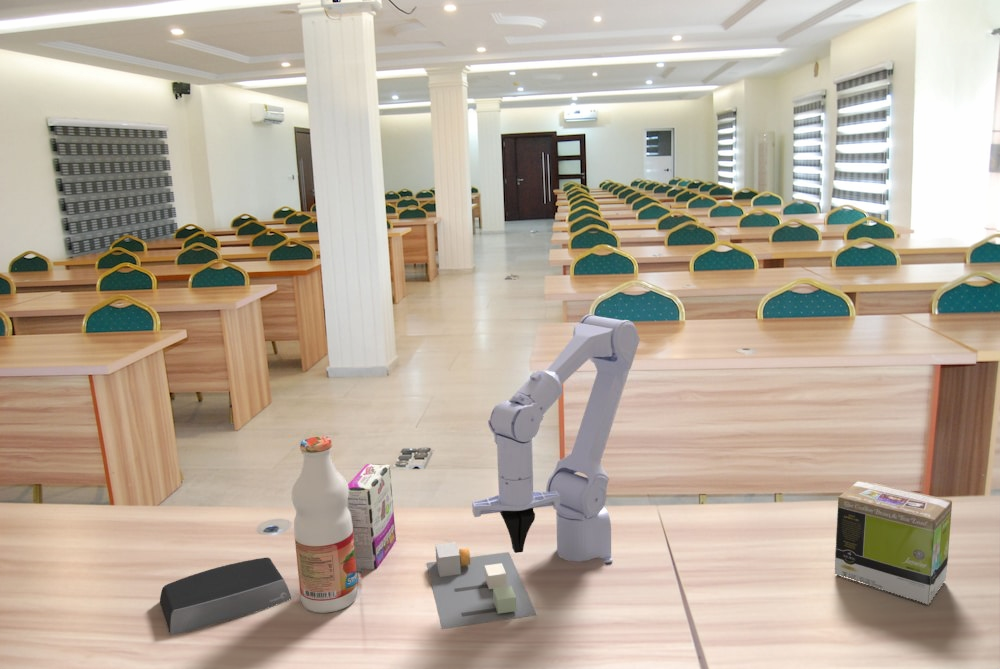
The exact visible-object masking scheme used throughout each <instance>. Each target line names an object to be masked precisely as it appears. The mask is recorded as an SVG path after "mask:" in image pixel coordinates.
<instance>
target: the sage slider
mask: <svg viewBox="0 0 1000 669" xmlns="http://www.w3.org/2000/svg"><path fill="white" fill-rule="evenodd" d="M493 601H494V604H495V607H496V610H497V613H498V614H500V613H507V612H514V611H517V609H516V596H515V593H514V591H513V589H512V586H505V587H498V588H493Z"/></svg>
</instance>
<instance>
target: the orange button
mask: <svg viewBox="0 0 1000 669" xmlns="http://www.w3.org/2000/svg"><path fill="white" fill-rule="evenodd" d="M458 551H459V554H460V565H461V566H463V565H470V557H471V554H470V549H469V548H468V547H467V548H466V547H465V548H460V549H459V548H458Z"/></svg>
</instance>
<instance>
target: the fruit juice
mask: <svg viewBox="0 0 1000 669" xmlns="http://www.w3.org/2000/svg"><path fill="white" fill-rule="evenodd" d="M299 445H300V446H299V447H300V453H301V454H302V455H303V457H302V458H303V460H302V466H301V471H300V474H299V476H298V477H297V479H296V480H295V482H294V484H293V486H292V489H291V501H292V505H293V508H294V509H295V517H294V520H293V535H294V536H293V537H294V544H295V555H296V565H297V572H298V573H297V574H298V584H299V593H300V601H301V604H302V606H303V607H304V608H305V609H306V610H307V611H310V612H313V613H321V614H326V613H333V612H336V611H337V612H339V611H341V610H343V609H345V608H347V607H349V606H351V605H352V604H353V603H354V601H355V600H356V599H357V596H358V590H359V589H358V577H357V572H356V561H355V549H354V537H353V524H352V517H351V513H350V511H349V509H348V507H347V502H348V497H349V488H348V484H349V483H348V482H347V480H346V478H345V477H344V476H343V475H342V474H341V472H339V471H338V470H337V468H336V466H335V464H334V461H333V459H332V458H333V457H332V455H331V451H332V450H333V444H332V438H330V437H328V436H323V435H320V436H319V435H317V436H311V437H310V436H309V437H307V438H305V439H303V440H301V441H300V444H299Z"/></svg>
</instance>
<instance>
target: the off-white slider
mask: <svg viewBox="0 0 1000 669" xmlns="http://www.w3.org/2000/svg"><path fill="white" fill-rule="evenodd" d="M485 580H486V582H487V585H488V588H489V589H493V588H498V587H505V586H507V582H506V572H505V570H504V567H503V565H502V563H500V564H492V565H485Z"/></svg>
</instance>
